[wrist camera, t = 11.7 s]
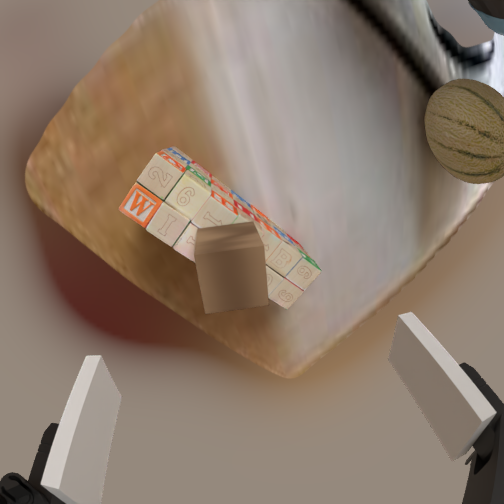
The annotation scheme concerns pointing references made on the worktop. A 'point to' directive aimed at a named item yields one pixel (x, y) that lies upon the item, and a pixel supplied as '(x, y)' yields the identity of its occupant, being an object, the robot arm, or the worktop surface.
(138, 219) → the stack of blocks
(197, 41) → the worktop surface
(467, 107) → the cantaloupe
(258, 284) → the walnut block
